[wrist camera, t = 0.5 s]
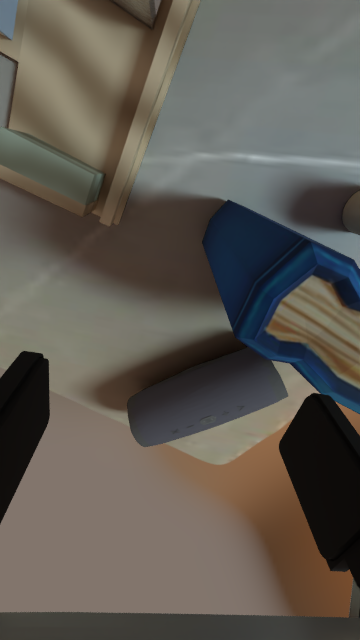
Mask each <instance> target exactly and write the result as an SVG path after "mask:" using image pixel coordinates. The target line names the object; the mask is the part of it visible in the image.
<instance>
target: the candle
mask: <svg viewBox="0 0 360 640" xmlns="http://www.w3.org/2000/svg"><path fill="white" fill-rule="evenodd" d="M342 220H343V224H344V226H345V227H346V229H348V230H349V231H351V232H353V233H355V234H358V235H360V190H359V191H357V192H356V193H355V194H354V195H352V196H351V198H350V199H349V200H348V201H347V203H346V205H345V207H344V210H343V214H342Z"/></svg>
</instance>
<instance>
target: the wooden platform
mask: <svg viewBox="0 0 360 640" xmlns="http://www.w3.org/2000/svg"><path fill="white" fill-rule="evenodd" d="M200 1H201V0H162V3H161V6H160V9H159V12H158V15H157V18H156V21H155V25H154V28H153V30H151V29H150V28H148V27H147V26H146V25H144V24H143V23H141V22H140V21H138V20H137V19H135V18H134V17H132V16H131V15H130V14H128V13H127V12H125V11H124V10H122V9H121V8H119V7H118V6H116V5H115V4H114V3H112V2H111V1H109V0H18V4H17V11H16V18H15V25H14V32H13V39H12V40H11V39H9V38H7V37H6V36H3V35H2V34H0V52H2V53H4V54H5V55H7V56H9V57H10V58H12V59H14V60H16V61H17V62H19V64H18V70H17V77H16V83H15V90H14V96H13V102H12V109H11V115H10V122H9V128H4V127H1V128H0V179H2V180H4V181H7V182H9V183H11V184H13V185H15V186H17V187H19V188H21V189H24V190H26V191H28V192H30V193H32V194H34V195H36V196H38V197H40V198H43V199H45V200H47V201H49V202H51V203H53V204H55V205H57V206H60V207H62V208H64V209H66V210H68V211H70V212H72V213H74V214H77V215H79V216H81V217H84V216H86V215H87V214H89V213H93V214H95V215H97V216H99V217H101V218H100V221H99V222H100V223H102V224H104V225H107V226H109V227H110V226H111V225H112V224H113V223H114V224H116V225H119V222H120V219H121V217H122V214H123V211H124V208H125V206H126V203H127V200H128V197H129V195H130V192H131V189H132V187H133V184H134V181H135V178H136V176H137V173H138V170H139V167H140V165H141V162H142V159H143V157H144V154H145V151H146V148H147V146H148V143H149V140H150V138H151V135H152V132H153V129H154V127H155V124H156V121H157V118H158V116H159V113H160V110H161V108H162V105H163V102H164V99H165V97H166V94H167V91H168V88H169V86H170V83H171V80H172V78H173V75H174V72H175V69H176V67H177V64H178V61H179V59H180V56H181V53H182V50H183V48H184V45H185V42H186V39H187V37H188V34H189V31H190V29H191V26H192V23H193V20H194V18H195V15H196V12H197V9H198V7H199V4H200Z"/></svg>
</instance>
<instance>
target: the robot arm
mask: <svg viewBox="0 0 360 640" xmlns="http://www.w3.org/2000/svg"><path fill="white" fill-rule="evenodd" d="M49 416H50V410H49V361H48V359H45V358H44V357H43V354H41V353H35V352H28V351H23V352H21V353H20V354H19V356H18V357H17V358H16V359H15V361H14V362H13V363H12V364H11V366H10V367H9V368H8V369H7V370H6V372H5V373H4V374H3V376H2V377H1V378H0V523H1V521H2V519H3V517H4V515H5V513H6V511H7V509H8V506H9V504H10V502H11V500H12V498H13V496H14V494H15V492H16V490H17V488H18V485H19V483H20V481H21V479H22V477H23V475H24V473H25V471H26V468H27V467H28V464H29V462H30V460H31V458H32V456H33V454H34V452H35V450H36V448H37V446H38V443H39V441H40V439H41V437H42V435H43V433H44V431H45V429H46V427H47V424H48V421H49ZM279 450H280V454H281V456H282V459H283V461H284V464H285V466H286V469H287V471H288V474H289V476H290V479H291V481H292V484H293V486H294V489H295V491H296V494H297V496H298V499H299V501H300V504H301V506H302V509H303V511H304V514H305V516H306V519H307V522H308V524H309V526H310V529H311V532H312V534H313V537H314V539H315V542H316V544H317V546H318V549H319V551H320V554H321V555H322V556H323V557H324V558H325V559H326V561H327V563H328V566H329V568H330V571H343V572H345V571H347V570H349V569H350V571H351V574H352V576H353V586H352V595H351V603H350V612H349V618H343V617H342V618H341V617H305V616H261V615H260V616H259V615H212V614H159V613H158V614H157V613H156V614H155V613H154V614H153V613H91V612H90V613H89V612H20V613H19V612H18V613H17V612H5V613H4V612H3V613H0V640H360V436H359V434H358V433H357V432H356V430H355V429H354V427H353V426H352V425H351V423H350V422H349V421H348V419H347V418H346V416H345V415H344V414H343V412H342V411H341V409H340V408H339V407H338V405H337V404H336V402H335V401H334V400H333V398H332V397H331V396H329V395H324V394H317V393H312V394H311V395H310V396H308V397H306V399H305V400H304V402H303V404H302V405H301V407H300V409H299V410H298V412H297V414H296V415H295V417H294V419H293V420H292V422H291V424H290V425H289V427H288V429H287V430H286V432H285V434H284V435H283V437H282V439H281V441H280V443H279Z"/></svg>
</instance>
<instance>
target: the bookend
mask: <svg viewBox="0 0 360 640" xmlns="http://www.w3.org/2000/svg"><path fill="white" fill-rule="evenodd" d="M109 1H111V2H112V3H114V4H115V5H116V6H118V7H119V8H121V9H122V10H124V11H125V12H127V13H128V14H130V15H131V16H132V17H134V18H135V19H137V20H138V21H140V22H141V23H143V24H144V25H146V26H147V27H148V28H150V29H151V30H153V28H154V25H155V21H156V18H157V15H158V12H159V9H160V6H161V3H162V0H109Z"/></svg>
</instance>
